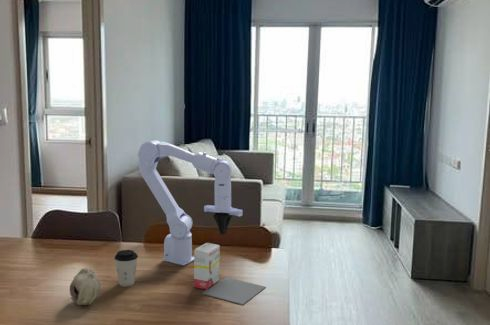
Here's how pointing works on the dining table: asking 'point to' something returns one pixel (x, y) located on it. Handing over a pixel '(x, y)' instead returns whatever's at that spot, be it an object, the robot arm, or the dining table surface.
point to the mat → (234, 290)
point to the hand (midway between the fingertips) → (223, 233)
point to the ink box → (206, 265)
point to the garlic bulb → (84, 287)
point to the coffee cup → (126, 267)
